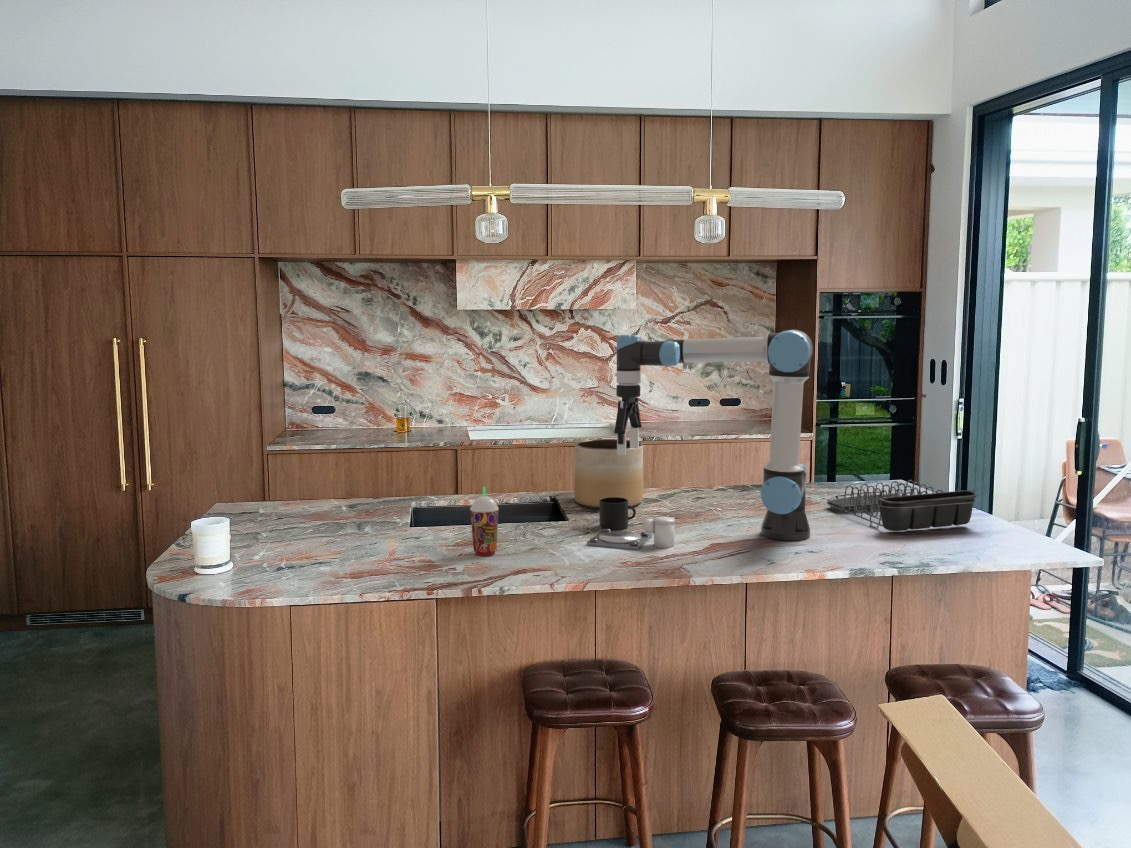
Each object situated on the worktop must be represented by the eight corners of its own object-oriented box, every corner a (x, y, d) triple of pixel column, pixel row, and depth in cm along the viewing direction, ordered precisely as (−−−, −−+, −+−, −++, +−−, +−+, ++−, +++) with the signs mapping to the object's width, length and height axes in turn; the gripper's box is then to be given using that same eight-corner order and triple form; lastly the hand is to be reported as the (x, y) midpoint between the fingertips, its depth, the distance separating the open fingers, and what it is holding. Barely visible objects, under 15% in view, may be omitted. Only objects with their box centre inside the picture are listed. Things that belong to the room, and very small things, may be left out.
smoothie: (488, 559, 255) (486, 490, 253) (465, 555, 260) (463, 487, 257) (505, 552, 262) (504, 485, 260) (482, 548, 267) (481, 483, 264)
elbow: (677, 543, 272) (677, 517, 271) (672, 549, 266) (672, 522, 265) (647, 540, 275) (647, 515, 274) (641, 546, 269) (642, 520, 268)
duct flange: (651, 537, 279) (651, 531, 279) (637, 550, 264) (637, 544, 264) (603, 532, 285) (603, 527, 285) (586, 545, 270) (586, 539, 270)
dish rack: (889, 538, 278) (891, 500, 277) (815, 507, 321) (816, 474, 319) (981, 530, 287) (983, 494, 285) (897, 502, 329) (899, 470, 328)
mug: (637, 530, 288) (637, 502, 287) (600, 530, 288) (600, 503, 287) (634, 523, 297) (634, 496, 296) (598, 523, 297) (598, 497, 296)
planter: (578, 494, 343) (578, 438, 340) (644, 496, 340) (645, 439, 337) (570, 509, 318) (570, 448, 315) (641, 511, 315) (641, 449, 312)
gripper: (628, 380, 291) (628, 444, 294) (604, 387, 268) (604, 456, 271) (650, 381, 289) (650, 446, 291) (628, 387, 266) (627, 458, 268)
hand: (628, 451), depth 281 cm, fingers open, 13 cm apart
